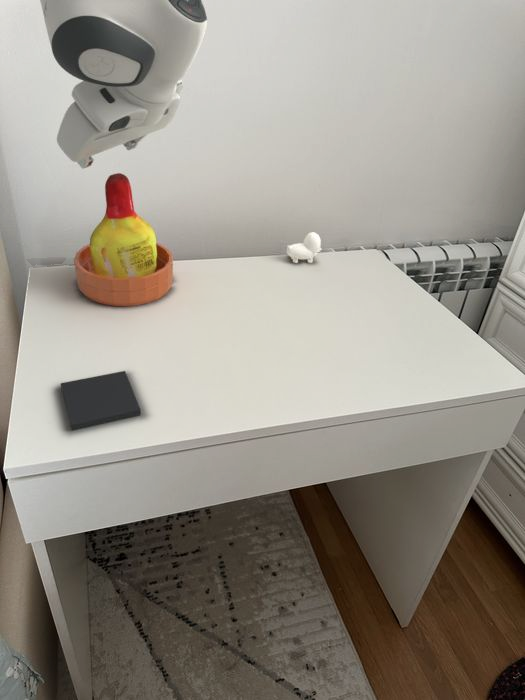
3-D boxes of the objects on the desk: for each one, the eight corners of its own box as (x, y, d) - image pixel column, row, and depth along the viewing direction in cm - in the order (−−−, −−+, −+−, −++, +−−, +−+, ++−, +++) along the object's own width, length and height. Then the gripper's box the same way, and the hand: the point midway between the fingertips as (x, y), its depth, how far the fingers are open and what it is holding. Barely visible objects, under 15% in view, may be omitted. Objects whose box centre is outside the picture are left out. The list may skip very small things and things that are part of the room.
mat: (71, 430, 69) (70, 425, 68) (61, 388, 75) (60, 383, 75) (140, 415, 72) (140, 409, 72) (125, 376, 79) (125, 370, 78)
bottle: (96, 292, 96) (84, 181, 84) (90, 276, 101) (78, 169, 89) (161, 283, 100) (159, 177, 89) (152, 268, 105) (149, 166, 94)
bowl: (87, 313, 91) (83, 285, 88) (71, 268, 104) (67, 242, 101) (184, 299, 98) (184, 272, 95) (158, 258, 111) (157, 233, 107)
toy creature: (323, 264, 115) (327, 237, 111) (287, 265, 113) (290, 237, 110) (316, 255, 119) (321, 228, 115) (282, 255, 117) (285, 228, 113)
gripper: (173, 58, 80) (140, 121, 91) (62, 89, 67) (40, 157, 78) (200, 93, 80) (164, 151, 91) (95, 129, 68) (68, 192, 78)
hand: (106, 154), depth 84 cm, fingers open, 8 cm apart
